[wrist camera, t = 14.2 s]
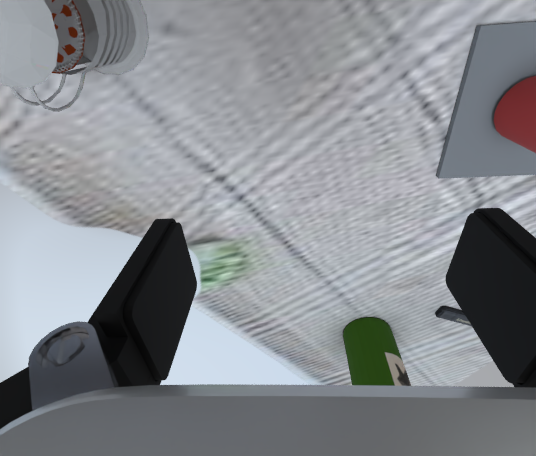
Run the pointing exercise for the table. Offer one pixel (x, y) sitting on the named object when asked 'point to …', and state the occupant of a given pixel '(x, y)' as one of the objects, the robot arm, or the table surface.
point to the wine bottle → (373, 354)
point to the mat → (489, 104)
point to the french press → (68, 41)
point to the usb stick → (452, 315)
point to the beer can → (518, 114)
